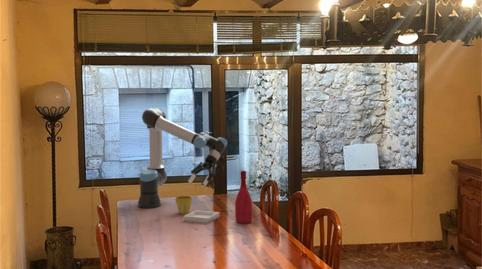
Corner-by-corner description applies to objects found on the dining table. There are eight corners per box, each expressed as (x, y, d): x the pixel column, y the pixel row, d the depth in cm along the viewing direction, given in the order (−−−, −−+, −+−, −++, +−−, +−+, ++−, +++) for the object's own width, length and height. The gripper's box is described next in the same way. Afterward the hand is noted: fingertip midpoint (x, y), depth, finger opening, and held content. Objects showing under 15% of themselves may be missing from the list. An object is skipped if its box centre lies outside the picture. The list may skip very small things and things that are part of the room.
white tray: (183, 221, 303) (183, 216, 303) (195, 215, 318) (195, 210, 318) (208, 223, 297) (208, 218, 297) (219, 217, 312) (219, 212, 312)
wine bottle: (252, 224, 295) (251, 172, 293) (235, 224, 295) (234, 172, 293) (252, 219, 305) (251, 169, 302) (235, 219, 305) (235, 169, 303)
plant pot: (193, 210, 330) (193, 195, 329) (190, 214, 320) (190, 198, 319) (177, 210, 331) (177, 195, 330) (174, 214, 321) (173, 198, 320)
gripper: (229, 162, 336) (213, 189, 326) (202, 160, 352) (186, 185, 342) (223, 155, 332) (207, 181, 321) (196, 153, 348) (180, 178, 338)
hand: (196, 183), depth 332 cm, fingers open, 13 cm apart
